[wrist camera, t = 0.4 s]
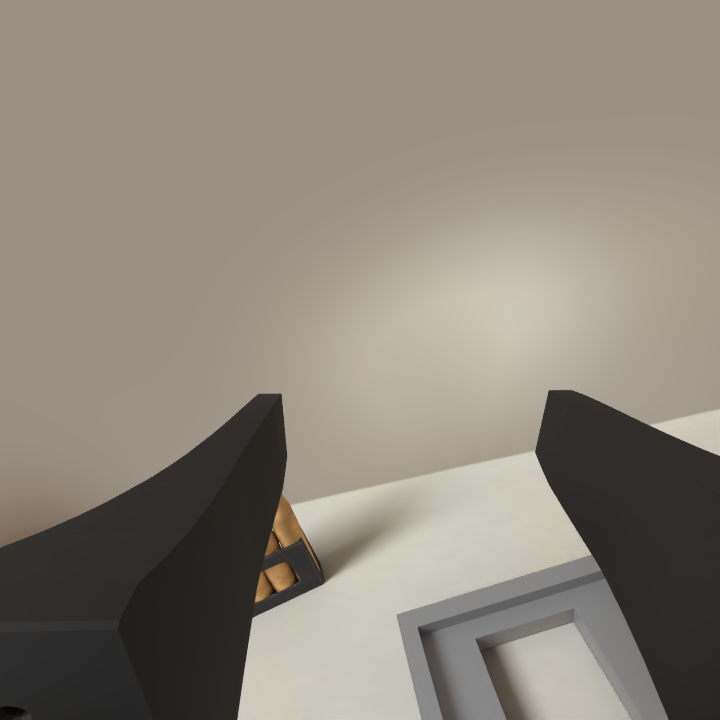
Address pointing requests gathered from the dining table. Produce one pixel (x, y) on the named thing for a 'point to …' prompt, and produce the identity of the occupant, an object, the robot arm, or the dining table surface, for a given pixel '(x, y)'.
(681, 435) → the dining table surface
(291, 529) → the ammunition clip
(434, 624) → the housing
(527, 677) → the dining table surface
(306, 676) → the dining table surface
